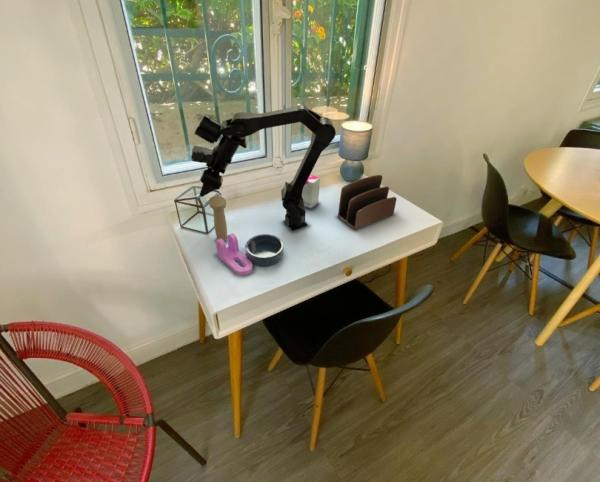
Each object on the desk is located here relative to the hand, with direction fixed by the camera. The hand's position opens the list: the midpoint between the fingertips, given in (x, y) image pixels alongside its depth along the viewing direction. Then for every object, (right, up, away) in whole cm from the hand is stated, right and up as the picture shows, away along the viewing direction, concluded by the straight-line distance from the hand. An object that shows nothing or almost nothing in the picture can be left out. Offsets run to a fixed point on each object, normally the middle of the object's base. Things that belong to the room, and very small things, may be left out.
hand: (202, 188), depth 109 cm
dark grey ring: (+21, -21, -3) cm, 30 cm away
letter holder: (+57, -9, +17) cm, 60 cm away
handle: (+6, -17, +2) cm, 18 cm away
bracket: (+12, -23, -7) cm, 27 cm away
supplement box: (+35, -4, +23) cm, 42 cm away
